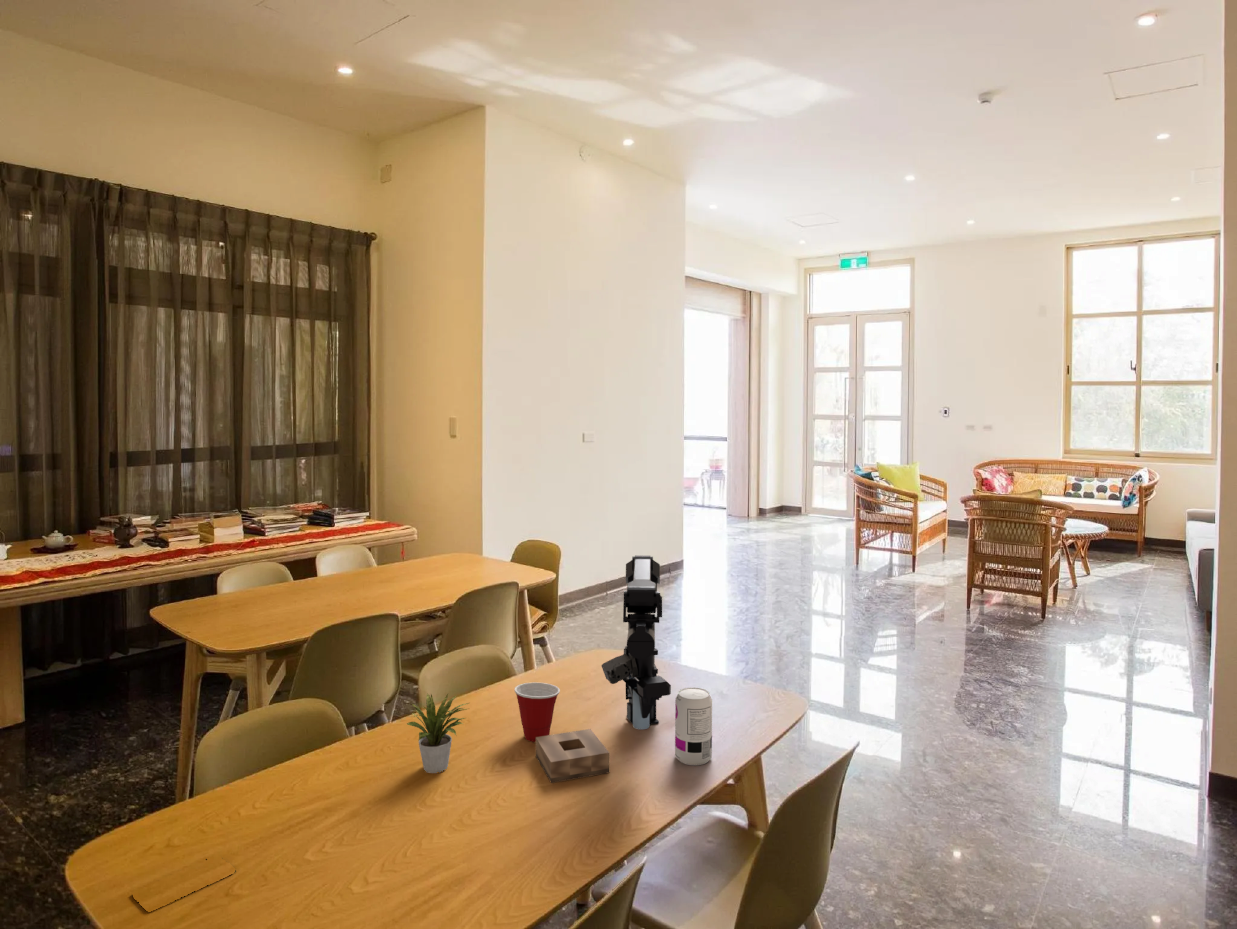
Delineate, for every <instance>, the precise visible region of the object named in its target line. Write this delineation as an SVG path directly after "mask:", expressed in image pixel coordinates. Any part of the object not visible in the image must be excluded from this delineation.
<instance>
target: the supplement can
mask: <svg viewBox="0 0 1237 929" xmlns="http://www.w3.org/2000/svg"><path fill="white" fill-rule="evenodd" d="M674 703H675V707H674V708H675V712H674V714H675V715H674V716H675V718H674V720H675V722H674V724H675V726H674V728H675V730H674V731H675V733H674V734H675V737H674V739H675V741H674V756H675V758H676V759H677V760H678V761H679V762H680V763H682V764H684V765H687V766H688V765H689V766H700V765H701V766H702V765H705V764H707V763H709V761H710V760H711V759H712V754H713V750H712V748H713V744H712V743H713V699H712V696H711V694H710V692H709V691H708V690H706V689H704V688H701V687H685V688H682V689H680V690H678V693H677V695H676V697H675V702H674Z"/></svg>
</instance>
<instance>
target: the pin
mask: <svg viewBox="0 0 1237 929" xmlns="http://www.w3.org/2000/svg"><path fill="white" fill-rule="evenodd" d="M636 688H637V687H636ZM634 689H635V688H634ZM649 715H650V713H649ZM649 715H648V717H647V718H642V715H641V709H640V701H639V695H638V694H637V693H636V692H634V691H633V724H632V727H633V728H634V729H636V730H647V729H649V727H650V725H649Z"/></svg>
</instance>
